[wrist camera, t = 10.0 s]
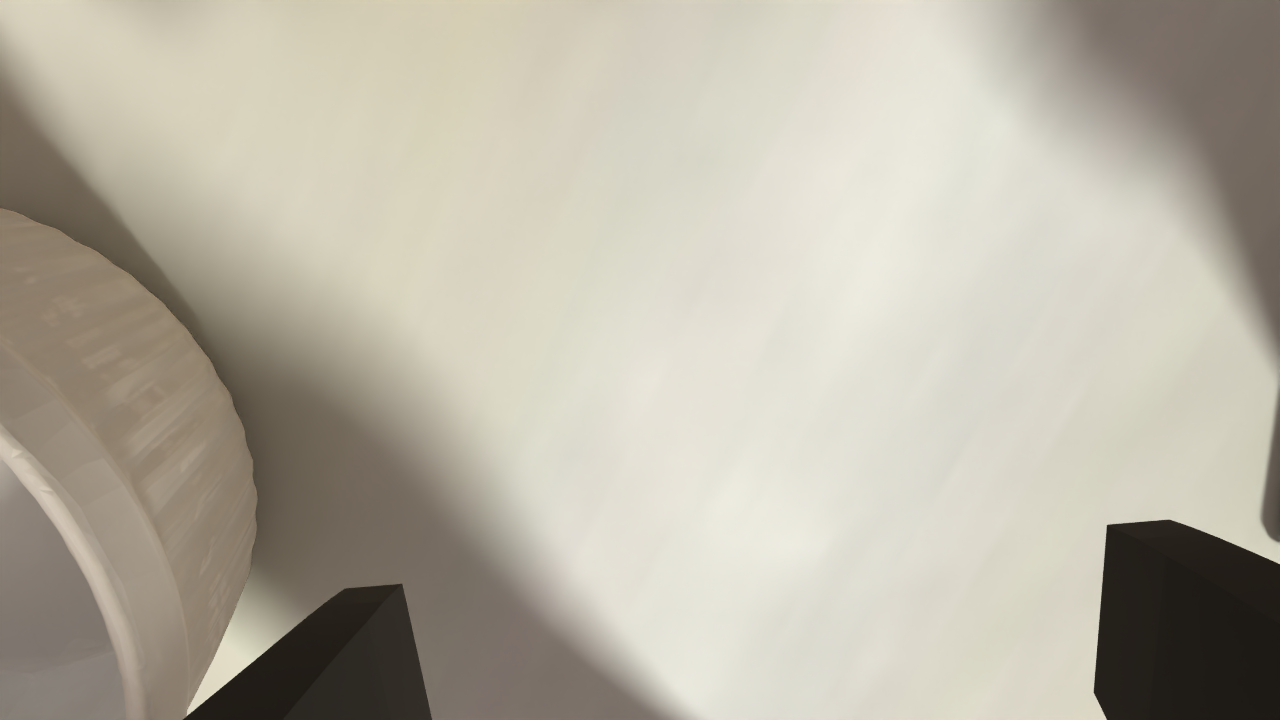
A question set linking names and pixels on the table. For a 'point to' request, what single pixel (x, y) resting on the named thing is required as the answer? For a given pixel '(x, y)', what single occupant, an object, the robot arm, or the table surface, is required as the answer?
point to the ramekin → (110, 491)
